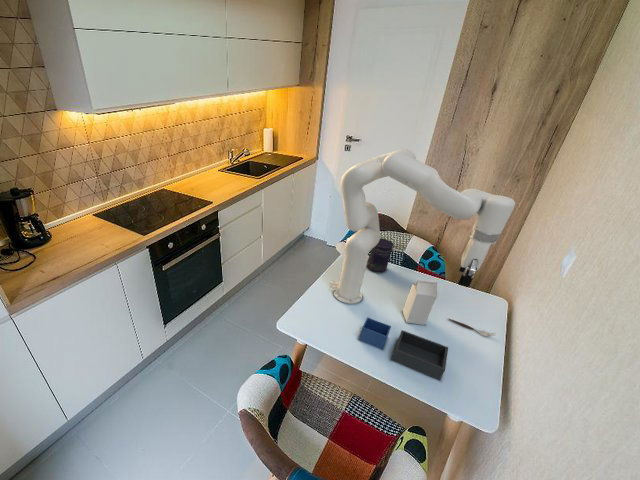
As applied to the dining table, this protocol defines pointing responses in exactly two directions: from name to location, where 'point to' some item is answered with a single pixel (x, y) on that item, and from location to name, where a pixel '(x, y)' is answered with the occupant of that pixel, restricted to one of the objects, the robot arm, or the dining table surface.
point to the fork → (471, 328)
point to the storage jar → (380, 256)
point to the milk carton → (420, 302)
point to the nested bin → (374, 333)
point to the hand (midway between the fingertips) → (463, 278)
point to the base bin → (420, 354)
